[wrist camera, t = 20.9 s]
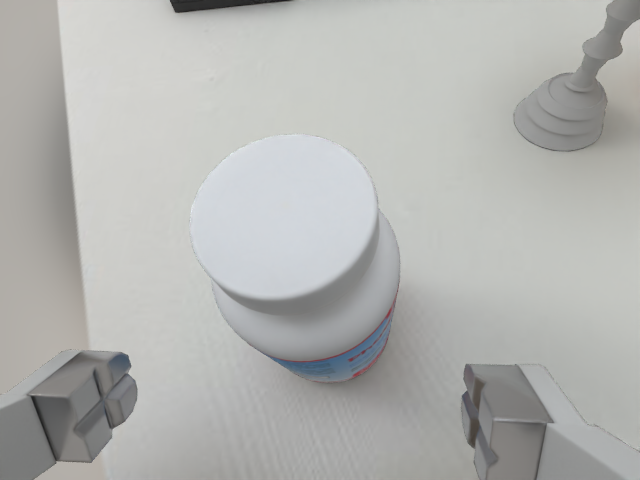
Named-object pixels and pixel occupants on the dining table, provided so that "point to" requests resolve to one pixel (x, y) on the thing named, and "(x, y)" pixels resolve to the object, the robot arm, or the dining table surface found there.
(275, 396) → the dining table surface
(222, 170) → the pill bottle
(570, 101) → the chalice
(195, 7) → the box
